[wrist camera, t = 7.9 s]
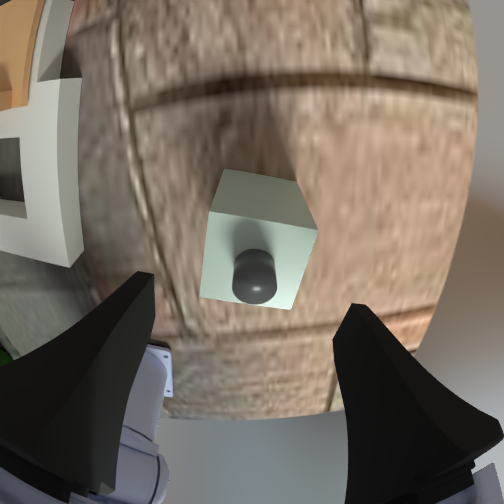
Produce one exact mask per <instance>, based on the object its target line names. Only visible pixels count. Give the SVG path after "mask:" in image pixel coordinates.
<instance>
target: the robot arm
mask: <svg viewBox="0 0 504 504" xmlns="http://www.w3.org/2000/svg"><path fill="white" fill-rule="evenodd" d="M154 320H155V294H154V274H151V273H145V272H140V271H137V272H136V273H135V274H133V275H132V276H131V277H130V278H129V279H128V280H127V281H126V282H124V283H123V284H122V285H121V286H120V287H119V288H118V289H117V290H116V291H114V292H113V293H112V294H111V295H110V296H109V297H108V298H106V299H105V300H104V301H103V302H102V303H101V304H99V305H98V306H97V307H96V308H95V309H94V310H92V311H91V312H90V313H88V314H87V315H86V316H85V317H83V318H82V319H81V320H80V321H78V322H77V323H76V324H74V325H73V326H72V327H70V328H69V329H68V330H66V331H65V332H63V333H62V334H60V335H59V336H57V337H56V338H54V339H53V340H51V341H49V342H48V343H46V344H44V345H42V346H41V347H39V348H37V349H35V350H34V351H32V352H30V353H28V354H26V355H24V356H22V357H20V358H18V359H16V360H14V361H11V362H9V363H7V364H5V365H2V366H0V504H161V503H162V501H163V499H164V497H165V495H166V491H167V488H168V482H169V469H168V465H167V463H166V461H165V459H164V457H163V455H161V454H159V453H158V449H159V445H158V444H155V443H154V439H155V437H156V434H157V429H158V424H159V419H160V414H161V409H162V404H163V400H164V396H167V397H172V396H173V379H172V353H171V350H170V349H168V348H164V347H159V346H154V345H150V344H148V342H149V339H150V335H151V332H152V328H153V324H154ZM332 340H333V353H334V362H335V367H336V372H337V376H338V381H339V385H340V390H341V394H342V399H343V404H344V408H345V414H346V420H347V432H348V479H347V489H346V497H345V504H504V500H503V496H502V492H501V487H500V483H499V479H498V476H497V472H496V469H495V465H494V463H491V464H489V465H488V466H486V467H484V468H483V469H481V470H479V471H477V472H475V473H474V474H472V472H471V469H473V468H474V467H475V462H474V460H475V459H476V458H478V457H479V456H481V455H482V454H484V453H485V452H487V451H488V450H490V449H491V448H493V447H494V446H495V445H496V444H498V443H499V442H500V441H501V440H503V438H504V434H503V431H502V428H501V426H500V423H499V421H498V420H497V419H495V418H494V417H492V416H490V415H488V414H486V413H484V412H482V411H480V410H478V409H477V408H475V407H473V406H472V405H470V404H469V403H467V402H465V401H464V400H462V399H461V398H459V397H458V396H457V395H455V394H454V393H453V392H451V391H450V390H449V389H448V388H446V387H445V386H444V385H443V384H441V383H440V382H439V381H438V380H437V379H436V378H435V377H433V376H432V375H431V374H430V373H429V372H428V371H427V370H426V369H425V368H424V367H423V366H422V365H421V364H420V363H419V362H418V361H417V360H416V359H415V358H414V357H413V356H412V355H411V354H410V353H409V352H408V351H407V350H406V349H405V347H404V346H403V345H402V344H401V343H400V342H399V341H398V340H397V339H396V337H395V336H394V335H393V334H392V333H391V332H390V331H389V329H388V328H387V327H386V326H385V325H384V324H383V323H382V321H381V320H380V319H379V318H378V317H377V316H376V315H375V314H374V313H373V312H372V310H371V309H370V308H369V307H368V306H366V305H364V304H355V303H352V304H351V306H350V308H349V310H348V312H347V313H346V315H345V317H344V319H343V321H342V323H341V325H340V327H339V329H338V330H337V332H336V334H335V336H334V338H333V339H332Z"/></svg>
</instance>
